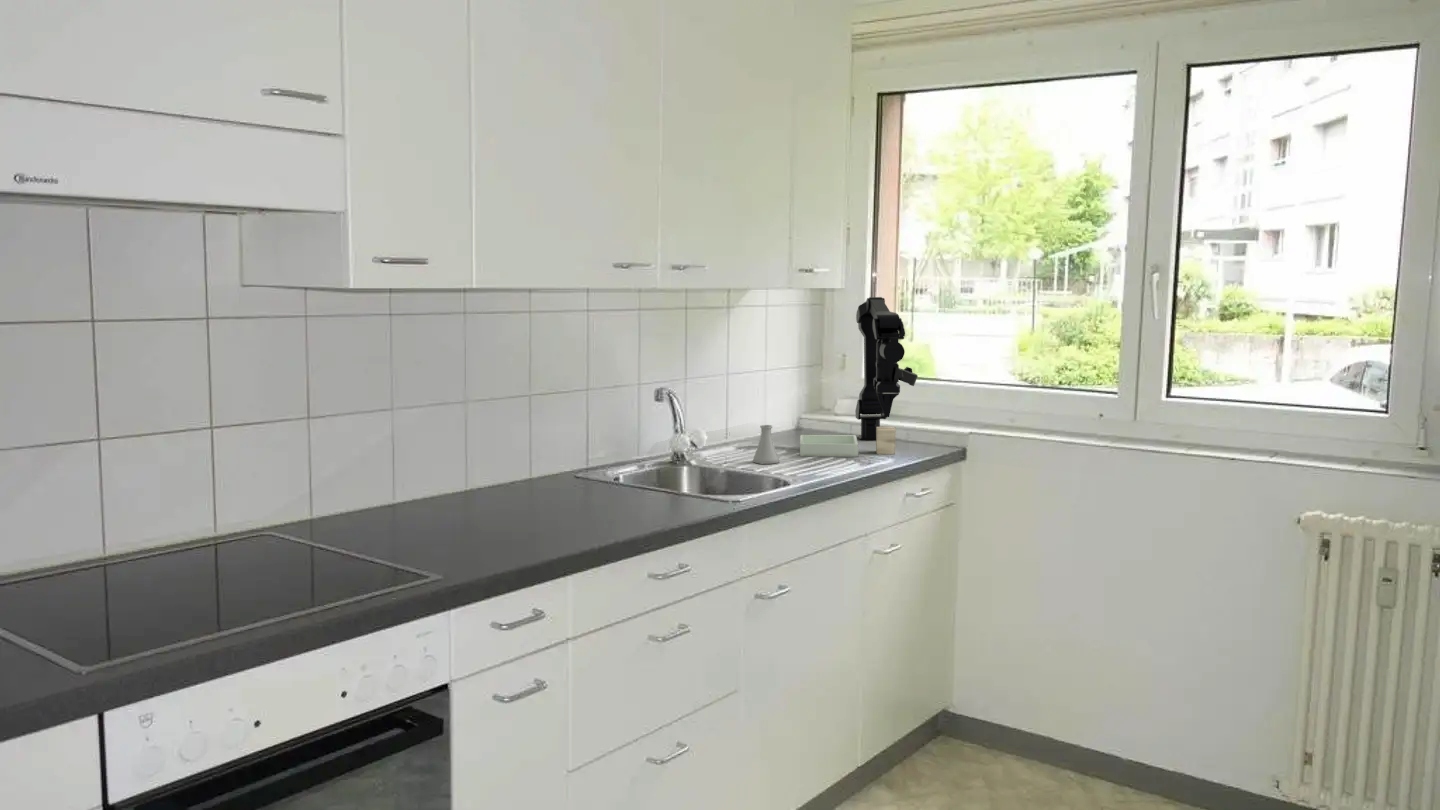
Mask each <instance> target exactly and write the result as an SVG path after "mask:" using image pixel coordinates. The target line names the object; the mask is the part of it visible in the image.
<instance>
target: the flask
mask: <svg viewBox="0 0 1440 810" xmlns="http://www.w3.org/2000/svg"><path fill="white" fill-rule="evenodd" d="M759 428H760V431H761V433H760V440H759V442H758V444H757V445H758V446H757V447H756V448H757V449H756V450H755V454H754V456H753V458H752V462H754V463H756V464H761V465H770V464H771V465H772V464H773V465H774V464H778V463H780V462H781V461H780V458H779V456H778V452H777V450H776V447H775V444H774V440H773V436H772V429H773V425H772V424H761V425H760V426H759Z"/></svg>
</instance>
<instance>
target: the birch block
mask: <svg viewBox="0 0 1440 810" xmlns="http://www.w3.org/2000/svg"><path fill="white" fill-rule="evenodd" d="M896 431H897V430H896V428H895V426H880V427H877V429H876V440H875V445H876V446H875V449H876V450H875V452H876V454H877V455H896V441H897V440H896V439H897V437H896V435H897V434H896Z"/></svg>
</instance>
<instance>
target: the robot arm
mask: <svg viewBox="0 0 1440 810" xmlns="http://www.w3.org/2000/svg"><path fill="white" fill-rule="evenodd" d="M855 314H856V317H855V319H856V320H855V321H856V323H857V326H858V328H857V329H858V330H859V331H860V334H861V335H862V337H863V374H864V375H863V377H864V379H863V380H864V382H863V384H864V385H863V387H862V389H861V390H860V392H859V395H858V399H857V401H856V407H855V419H856V420H859V421H860V434H858V435H859V436H858V437H859V440H860V441H876V429H877V427H881V420H886V419H887V418H889V417H890V415H891V412H892V411H891V410H892V406H893V402H894V399H895V398H896V397H898V396H899V395H900V393H901V385H900V384H899V383H900V382H903V383H906V384H908V385H910V386H912V387H914V386H915V385H916V382H917V380H918V374H917V373H915V372H913V368H912V367H909V366H906V367H904V368H902V367H901V368H900V366H899V362H901V360H902V359H903V358H904V356H905V352H906V351H905V348H904V345H902V344H901V343H900V342H899V340H904V339H905V336H906V331H905V326H904V322H903V321H902V318H901V317H900V315H899V314H898V313H896V312H892V311H890V309H889V308H888V306H887V303H886V300H885V298H884V297H882V296H877V297H876V296H869V297H867V298H866V300H865V301H864V302H862V304H859V305H858V308H857V310H856V313H855Z"/></svg>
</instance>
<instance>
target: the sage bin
mask: <svg viewBox="0 0 1440 810" xmlns="http://www.w3.org/2000/svg"><path fill="white" fill-rule="evenodd" d="M799 438H800V439H799V441H800V442H799V457H805V458H806V457H814V458H815V457H816V458H817V457H821V458H822V457H824V458H825V457H826V458H827V457H829V458H830V457H831V458H833V457H834V458H835V457H837V458H838V457H839V458H842V457H844V458H845V457H846V458H854V457H855V458H859V442H858V438H857V435H856V434H800V437H799Z"/></svg>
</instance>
